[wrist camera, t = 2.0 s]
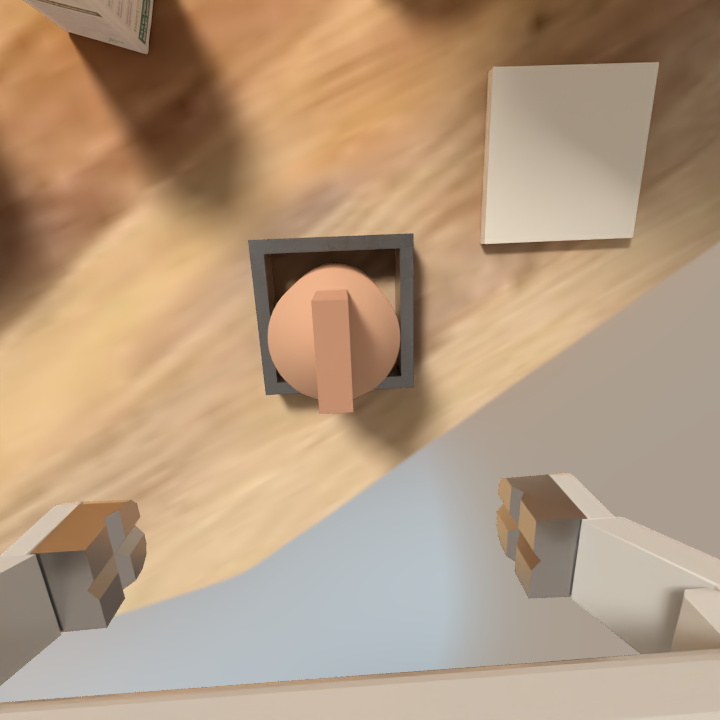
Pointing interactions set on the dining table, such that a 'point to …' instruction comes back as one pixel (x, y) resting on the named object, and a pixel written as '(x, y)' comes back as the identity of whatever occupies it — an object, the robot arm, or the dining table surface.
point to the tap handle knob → (334, 336)
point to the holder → (402, 243)
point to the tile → (565, 151)
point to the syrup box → (102, 20)
